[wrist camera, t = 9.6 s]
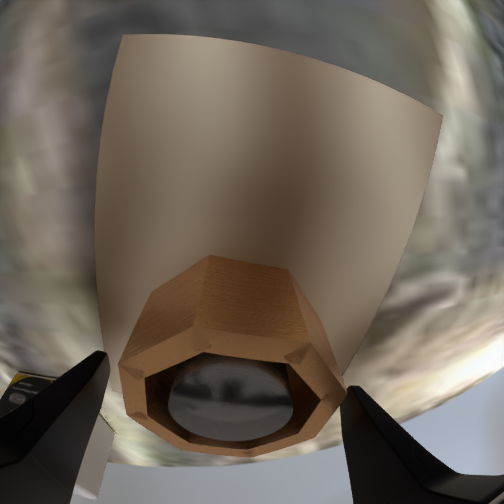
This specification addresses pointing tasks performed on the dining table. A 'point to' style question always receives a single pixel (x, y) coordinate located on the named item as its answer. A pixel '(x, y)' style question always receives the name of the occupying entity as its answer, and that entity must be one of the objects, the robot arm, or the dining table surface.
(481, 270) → the dining table surface
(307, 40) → the dining table surface
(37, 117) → the dining table surface
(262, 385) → the piston
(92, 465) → the medicine bottle
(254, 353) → the ring
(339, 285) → the piston stand
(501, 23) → the dining table surface
